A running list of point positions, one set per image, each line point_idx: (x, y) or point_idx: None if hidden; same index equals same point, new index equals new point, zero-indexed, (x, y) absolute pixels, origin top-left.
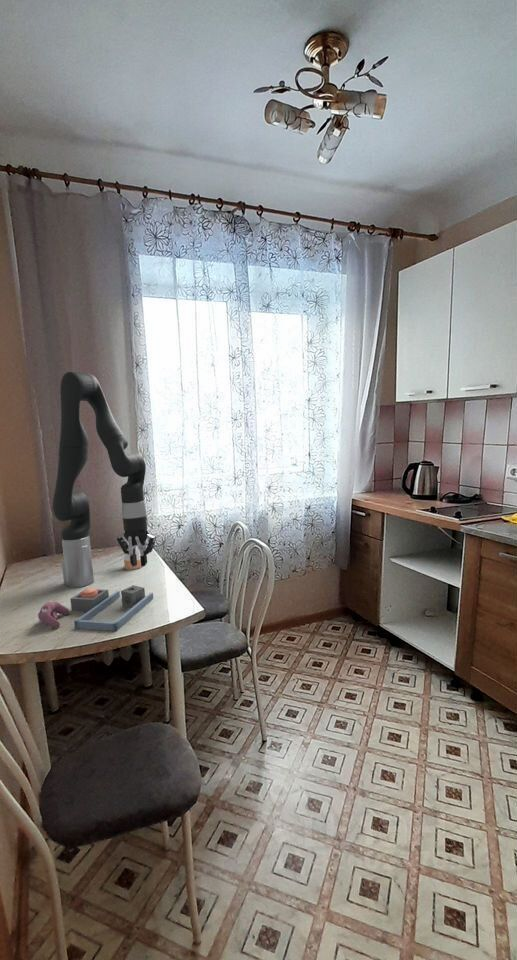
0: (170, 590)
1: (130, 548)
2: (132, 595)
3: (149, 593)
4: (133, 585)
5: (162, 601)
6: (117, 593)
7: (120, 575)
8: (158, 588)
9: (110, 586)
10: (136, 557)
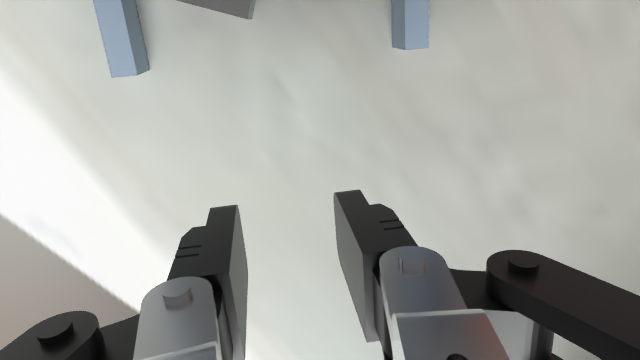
0: (104, 225)
1: (424, 315)
2: None
3: (127, 54)
4: (245, 17)
5: (18, 38)
6: (402, 16)
7: (570, 342)
8: None
9: (551, 189)
10: (355, 306)
